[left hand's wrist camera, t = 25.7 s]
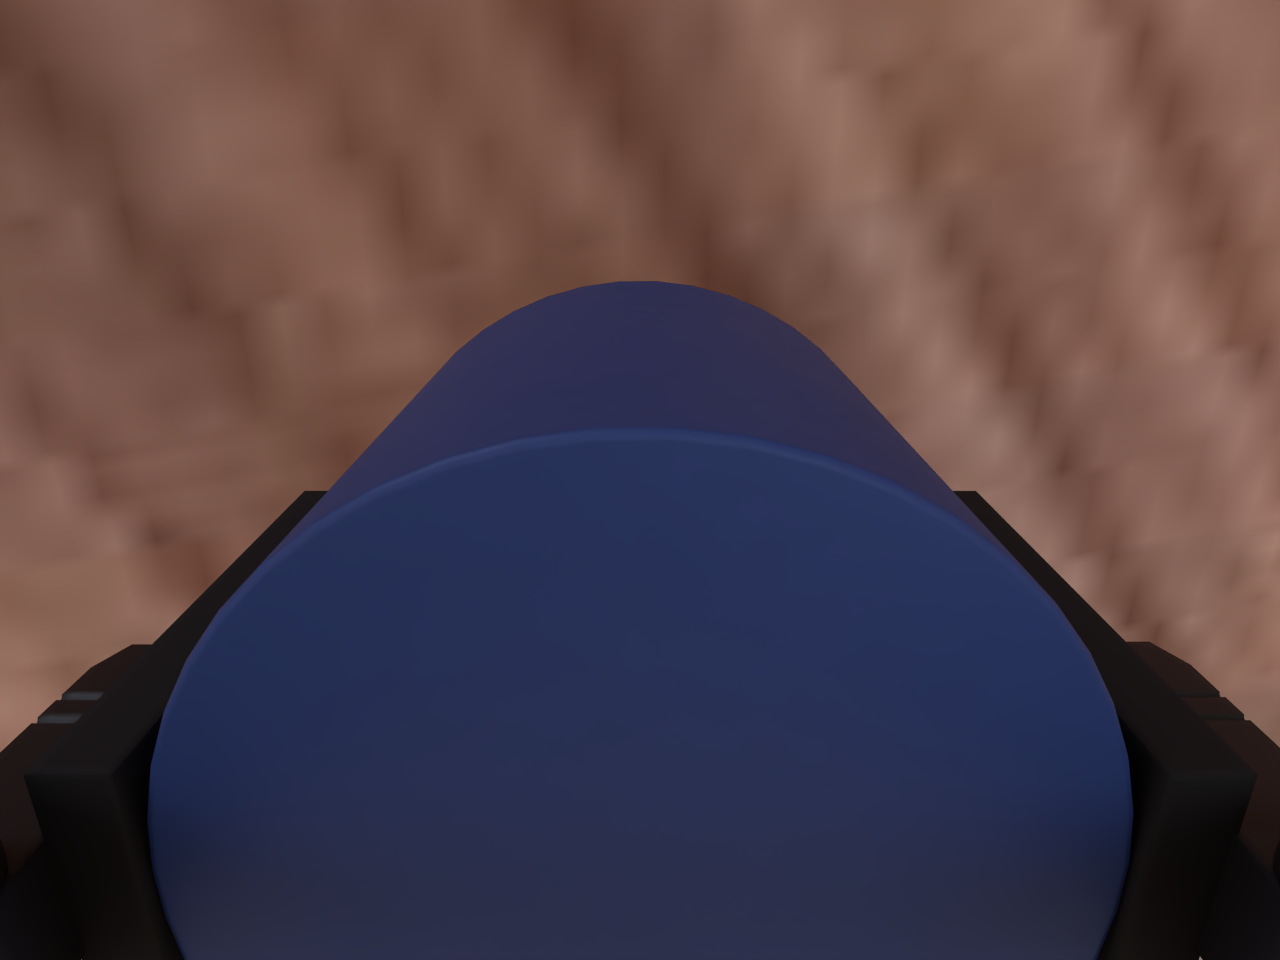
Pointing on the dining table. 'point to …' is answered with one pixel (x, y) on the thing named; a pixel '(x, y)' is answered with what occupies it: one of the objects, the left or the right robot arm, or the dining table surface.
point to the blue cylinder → (640, 681)
